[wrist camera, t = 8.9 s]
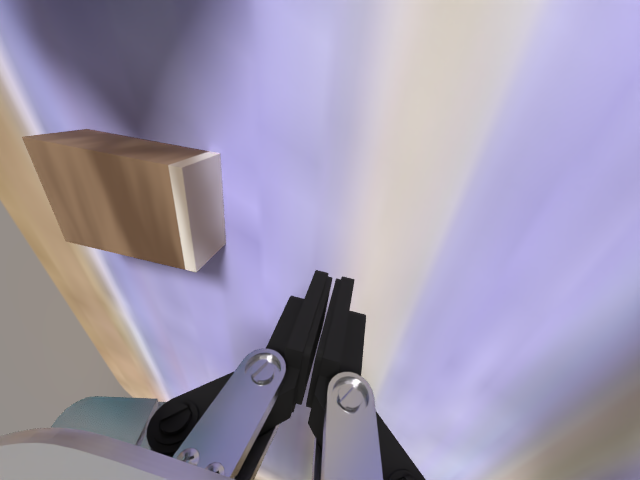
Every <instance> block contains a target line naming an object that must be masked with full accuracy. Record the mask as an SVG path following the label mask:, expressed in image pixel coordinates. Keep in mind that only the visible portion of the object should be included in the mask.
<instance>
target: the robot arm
mask: <svg viewBox="0 0 640 480" xmlns="http://www.w3.org/2000/svg"><path fill="white" fill-rule="evenodd" d="M331 282H332V277H328V273H326V272H322V271H318V270H316V271H315V273H314V276H313V279H312V281H311V284H310V286H309V289H308V291H307V294H306V296H305V299H302V298H298V297H294V296H291V297H290V298H289V300H288V302H287V304H286V306H285V309H284V311H283V313H282V315H281V317H280V319H279V321H278V324H277V326H276V328H275V330H274V332H273V334H272V336H271V339H270V341H269V343H268V345H267V347H266V349H259V350H255V351H253V352H251V353H250V354H248V355H247V356H246V357H245V358H244V360H243V361H242V362H241V364H240V365H239V366H238V368H237V369H236V371H234V372H232V373H230V374H228V375H225V376H223V377H221V378H218V379H216V380H214V381H212V382H209V383H207V384H205V385H203V386H200V387H198V388H196V389H193V390H191V391H189V392H187V393H184V394H182V395H180V396H178V397H175V398H173V399H171V400H169V401H168V402H158V399H148V398H123V397H98V396H97V397H96V396H95V397H88V398H85V399H82V400H80V401H78V402H76V403H74V404H73V405H71V406H70V407H68V408H67V409H66V410H65V411H64V412H63V413H62V414H61V415H60V416H59V417H58V418H57V420H56V421H55V422H54V424H53V425H52V426H51V428H37V429H30V430H24V431H18V432H13V433H9V434H5V435H2V436H0V480H254V478H255V476H256V474H257V472H258V470H259V468H260V466H261V463H262V461H263V459H264V457H265V455H266V453H267V451H268V449H269V446H270V444H271V442H272V440H273V438H274V436H275V434H276V432H277V429H278V427H279V424H280V423H282V422H284V421H285V420H287V419H289V418H290V416H291V413H292V412H294V409H295V405H296V403H297V404H300V405H301V404H302V401H303V397H304V393H305V390H306V386H307V382H308V379H309V375H310V371H311V367H312V364H313V360H314V356H315V353H316V349H317V345H318V341H319V338H320V334H321V330H322V326H323V322H324V317H325V312H326V307H327V302H328V297H329V292H330V287H331ZM353 285H354V279H351V278H347V277H342V278H341V280H340V279H336V281H335V285H334V289H333V293H332V296H331V300H330V304H329V308H328V312H327V315H326V319H325V323H324V327H323V331H322V334H321V338H320V342H319V346H318V350H317V354H316V358H315V363H314V368H313V373H312V378H311V383H310V388H309V393H308V398H307V403H306V406H307V407H310V408H311V412H310V417H309V421H308V424H309V426H310V428H311V430H312V432H313V434H314V436H315V441H314V455H313V469H312V480H425V478H424V477H423V475H422V474H421V473H420V471H419V470H418V469H417V467H416V466H415V464H414V463H413V462H412V460H411V459H410V457H409V456H408V455H407V453H406V452H405V451H404V449H403V448H402V446H401V445H400V444H399V442H398V441H397V440H396V438H395V437H394V435H393V434H392V433H391V431H390V430H389V429H388V427H387V426H386V424H385V423H384V422H383V420H382V419H381V417H380V416H379V415H378V413H377V412H376V409H375V400H374V395H373V391H372V389H371V387H370V385H369V383H368V382H367V381H366V380H365V379H364V378H363V377H361V369H362V357H363V346H364V334H365V323H366V315H364V314H360V313H357V312H353V311H349V309H350V303H351V297H352V291H353Z"/></svg>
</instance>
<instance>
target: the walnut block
mask: <svg viewBox="0 0 640 480" xmlns="http://www.w3.org/2000/svg"><path fill="white" fill-rule="evenodd" d="M22 138H23V141H24V143H25V145H26V148H27V150H28V153H29V155H30V157H31V160H32V162H33V164H34V167H35V169H36V172H37V174H38V176H39V179H40V181H41V183H42V186H43V188H44V191H45V193H46V195H47V198H48V200H49V202H50V205H51V207H52V210H53V212H54V214H55V217H56V219H57V221H58V224H59V226H60V229H61V231H62V233H63V236H64V238H65V240H66V241H67V242H71V243H75V244H80V245H84V246H88V247H92V248H96V249H101V250H105V251H109V252H113V253H117V254H122V255H126V256H130V257H134V258H138V259H143V260H147V261H151V262H155V263H159V264H164V265H168V266H172V267H176V268H180V269H185V270H189V271H193V272H197V271H198V270H199V269H200V268H201V267H202V266H204V265H205V264H206V263H207V262H208V261H209V260H210V259H211V258H212V257H213V256H214V255H215V254H216V253H217V252H218V251H219V250H220V249H221V248H222V247H223V246H224V245H225V244H226V236H225V220H224V205H223V189H222V173H221V157H220V153H215V152H209V151H204V150H199V149H193V148H188V147H182V146H177V145H171V144H166V143H160V142H155V141H149V140H144V139H138V138H133V137H128V136H122V135H117V134H111V133H106V132H100V131H95V130H89V129H84V130H75V131H67V132H59V133H50V134H42V135H34V136H25V137H22Z"/></svg>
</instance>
